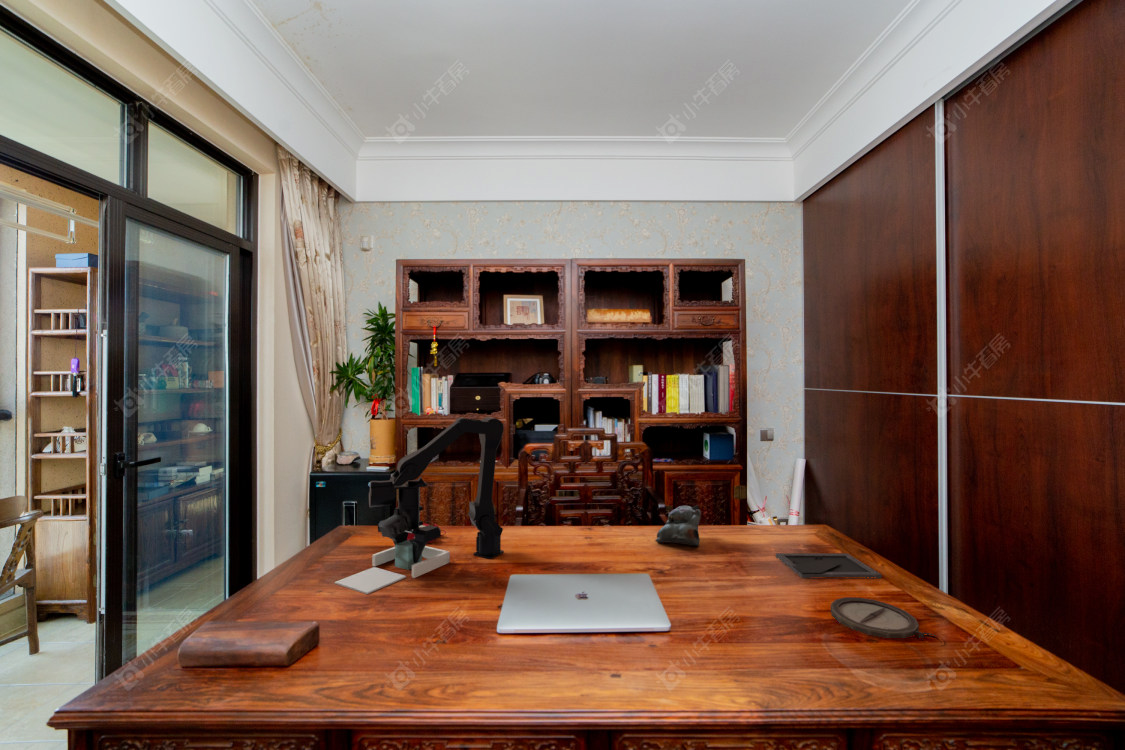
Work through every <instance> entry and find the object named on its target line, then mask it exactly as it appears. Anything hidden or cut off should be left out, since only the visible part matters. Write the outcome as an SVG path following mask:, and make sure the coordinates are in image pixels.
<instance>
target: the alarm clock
mask: <svg viewBox="0 0 1125 750" xmlns="http://www.w3.org/2000/svg"><path fill="white" fill-rule="evenodd" d="M428 525H430V524H429V523H425V522H423V525H421V526H419V528H422V527H425V526H428ZM432 526H436V527H439V525H438V524H436V523H433V524H432ZM441 532H444V533H443V534H441V537H442V536H445V535H446V533H447V531H446V530H443V529H441ZM414 536H415V534H411V533H408V538H407V540H411V539H414ZM436 540H437V539H434V540H432V541H429V542H427V544H432V543H435V542H436Z"/></svg>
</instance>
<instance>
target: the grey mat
mask: <svg viewBox="0 0 1125 750" xmlns="http://www.w3.org/2000/svg"><path fill="white" fill-rule="evenodd" d="M406 578H407V576H406V575H404V574H400V573H396V572H393V571H389V570H386V569H382V568H379V567H377V566H375V567H374V566H372V567H370V568H367V569H365V570H363V571H360V572H358V573H355V574H352V575H349V576H347V577H344V578H342V579H340V580H337V581H335V582H334V585H338V586H341V587H344V588H347V589H350V590H352V591H355V592H359V593H362V594H365V595H369V594H371V593H373V592H375V591H378V590H381V589H383V588H385V587H387V586H390V585H392V584H395V583H397V582H399V581H402V580H403V579H404V580H405V579H406Z"/></svg>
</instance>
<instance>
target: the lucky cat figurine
mask: <svg viewBox="0 0 1125 750" xmlns="http://www.w3.org/2000/svg"><path fill="white" fill-rule="evenodd" d="M701 515H702V512H701V510H700V506H699V505H694V506H689V505H680V506H678V507H676V508H675V509H672V510H671V511H670V512H669V513H668V515H667V516H668V517H667V519H668V520H667V521H666V523H665V524H664V526H662V527H661V528H660V529H659V530H658V531H657V533H656V539H654V542H656V543H658V544H660V543H673V544H674V543H675V544H681V545H688V546H692V547H696V548H699V546H700V543H701V539H700V533H699V525H700V521H701V517H702V516H701Z"/></svg>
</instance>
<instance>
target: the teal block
mask: <svg viewBox="0 0 1125 750" xmlns="http://www.w3.org/2000/svg"><path fill="white" fill-rule="evenodd" d="M394 547H395V559H394V567H396V568H399V569H403V570H407V571H410V570H412V565H414V564H417V563H419V562H421V561H423V557H422V554H421V556H420V558H419V560H418V562H417V563H414V561H413V545H412V544H411V543H410V541H409V540H407V541H404V542H401V543H398V544H394Z"/></svg>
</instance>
